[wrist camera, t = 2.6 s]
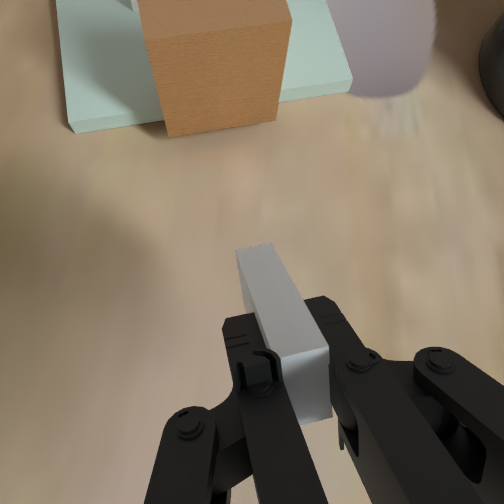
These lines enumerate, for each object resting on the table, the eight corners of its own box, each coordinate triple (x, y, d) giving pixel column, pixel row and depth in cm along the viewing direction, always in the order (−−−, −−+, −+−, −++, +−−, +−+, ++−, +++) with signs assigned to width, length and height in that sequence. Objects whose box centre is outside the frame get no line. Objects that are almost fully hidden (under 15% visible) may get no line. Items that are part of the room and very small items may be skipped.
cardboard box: (239, -14, 35) (242, -144, 26) (275, 120, 31) (292, 20, 23) (143, -2, 34) (113, -132, 26) (168, 137, 30) (144, 40, 22)
